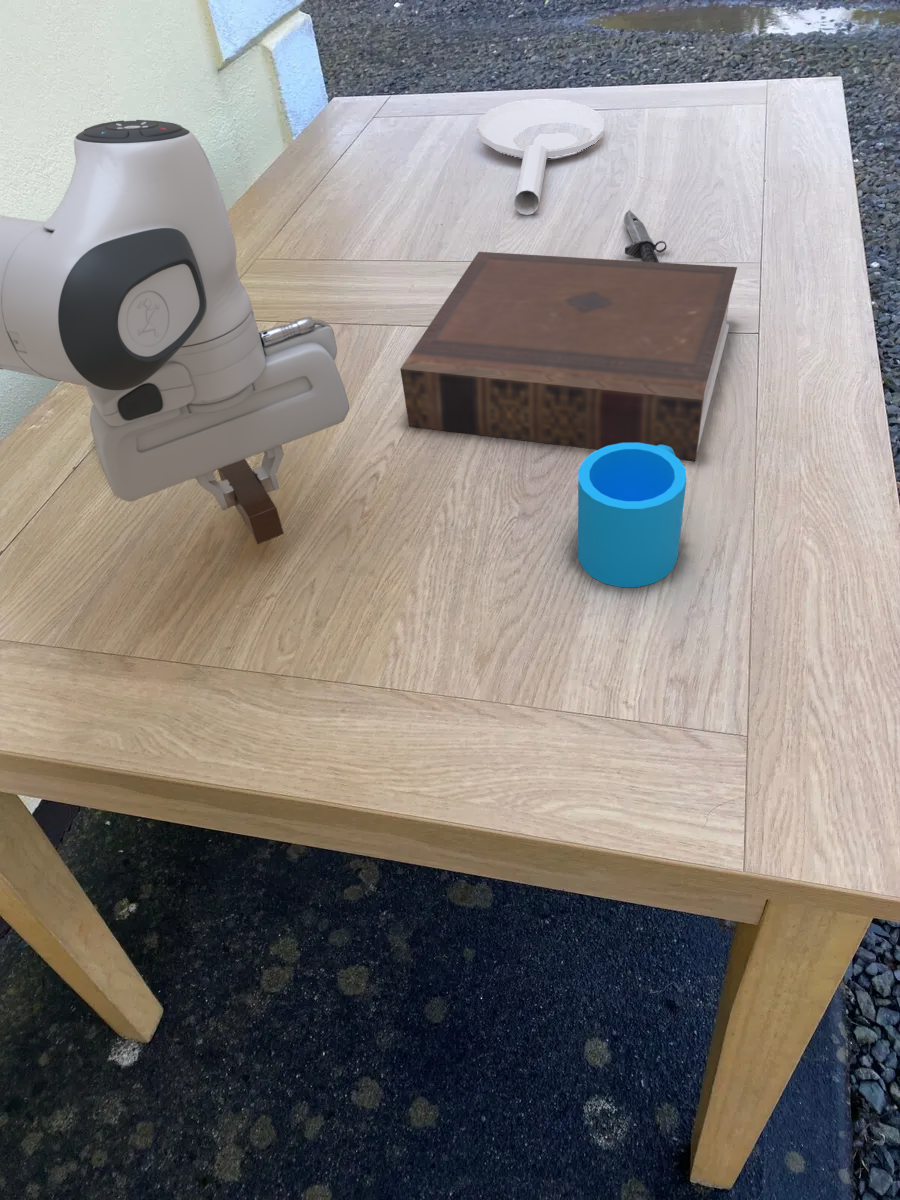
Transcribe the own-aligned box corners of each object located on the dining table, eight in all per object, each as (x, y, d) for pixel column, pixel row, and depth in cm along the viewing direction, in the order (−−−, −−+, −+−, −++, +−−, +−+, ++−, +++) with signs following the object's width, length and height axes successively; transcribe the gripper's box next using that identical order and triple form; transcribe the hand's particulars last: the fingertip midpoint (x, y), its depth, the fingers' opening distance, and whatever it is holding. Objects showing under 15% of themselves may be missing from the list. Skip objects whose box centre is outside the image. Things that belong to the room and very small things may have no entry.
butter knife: (257, 544, 76) (249, 517, 74) (187, 427, 89) (178, 401, 87) (284, 534, 77) (276, 507, 75) (211, 419, 89) (202, 393, 87)
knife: (609, 204, 117) (648, 200, 117) (609, 220, 119) (647, 215, 118) (637, 273, 104) (681, 267, 104) (637, 289, 106) (680, 284, 106)
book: (695, 461, 83) (702, 399, 78) (409, 426, 91) (400, 368, 86) (729, 325, 98) (737, 267, 94) (482, 305, 106) (478, 251, 102)
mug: (651, 600, 71) (658, 522, 65) (559, 567, 75) (558, 489, 69) (711, 511, 78) (723, 432, 72) (624, 484, 81) (628, 407, 76)
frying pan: (596, 226, 122) (599, 192, 119) (456, 221, 124) (455, 188, 121) (604, 119, 145) (606, 87, 141) (485, 116, 147) (485, 86, 143)
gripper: (313, 294, 73) (343, 436, 83) (61, 377, 67) (124, 519, 77) (345, 325, 69) (372, 471, 79) (79, 417, 63) (144, 562, 73)
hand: (248, 496), depth 78 cm, fingers closed on butter knife, 2 cm apart
